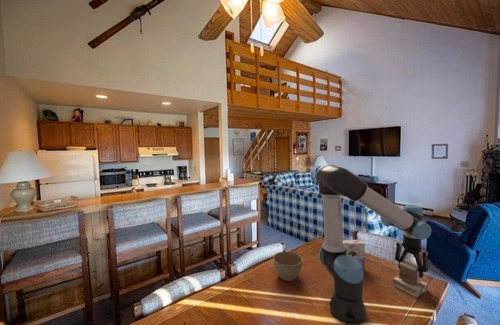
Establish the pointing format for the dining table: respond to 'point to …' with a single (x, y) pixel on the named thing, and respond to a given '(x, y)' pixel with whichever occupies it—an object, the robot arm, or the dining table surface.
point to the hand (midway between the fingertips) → (410, 278)
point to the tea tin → (408, 271)
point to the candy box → (355, 250)
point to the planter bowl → (288, 265)
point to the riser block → (410, 286)
